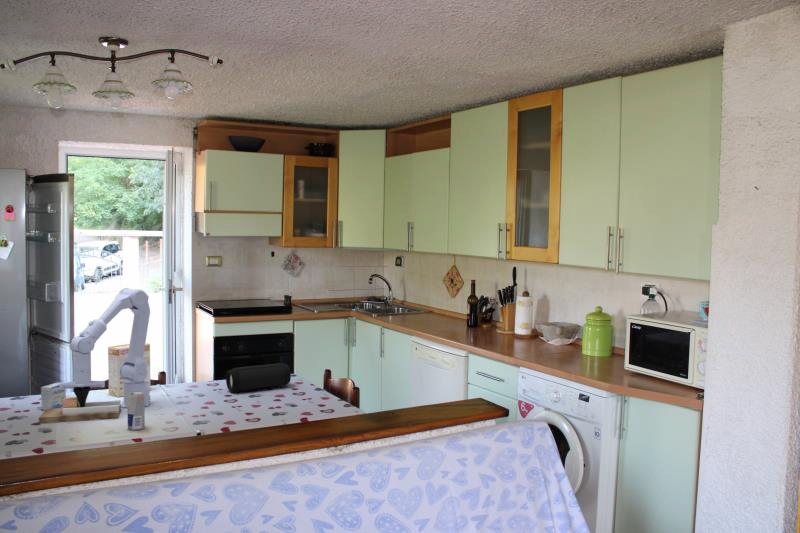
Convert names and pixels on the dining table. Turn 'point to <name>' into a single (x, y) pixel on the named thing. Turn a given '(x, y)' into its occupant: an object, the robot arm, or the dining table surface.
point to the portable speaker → (258, 377)
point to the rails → (94, 407)
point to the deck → (74, 416)
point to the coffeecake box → (114, 364)
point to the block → (70, 402)
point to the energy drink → (136, 410)
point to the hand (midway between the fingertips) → (82, 408)
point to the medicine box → (52, 396)
